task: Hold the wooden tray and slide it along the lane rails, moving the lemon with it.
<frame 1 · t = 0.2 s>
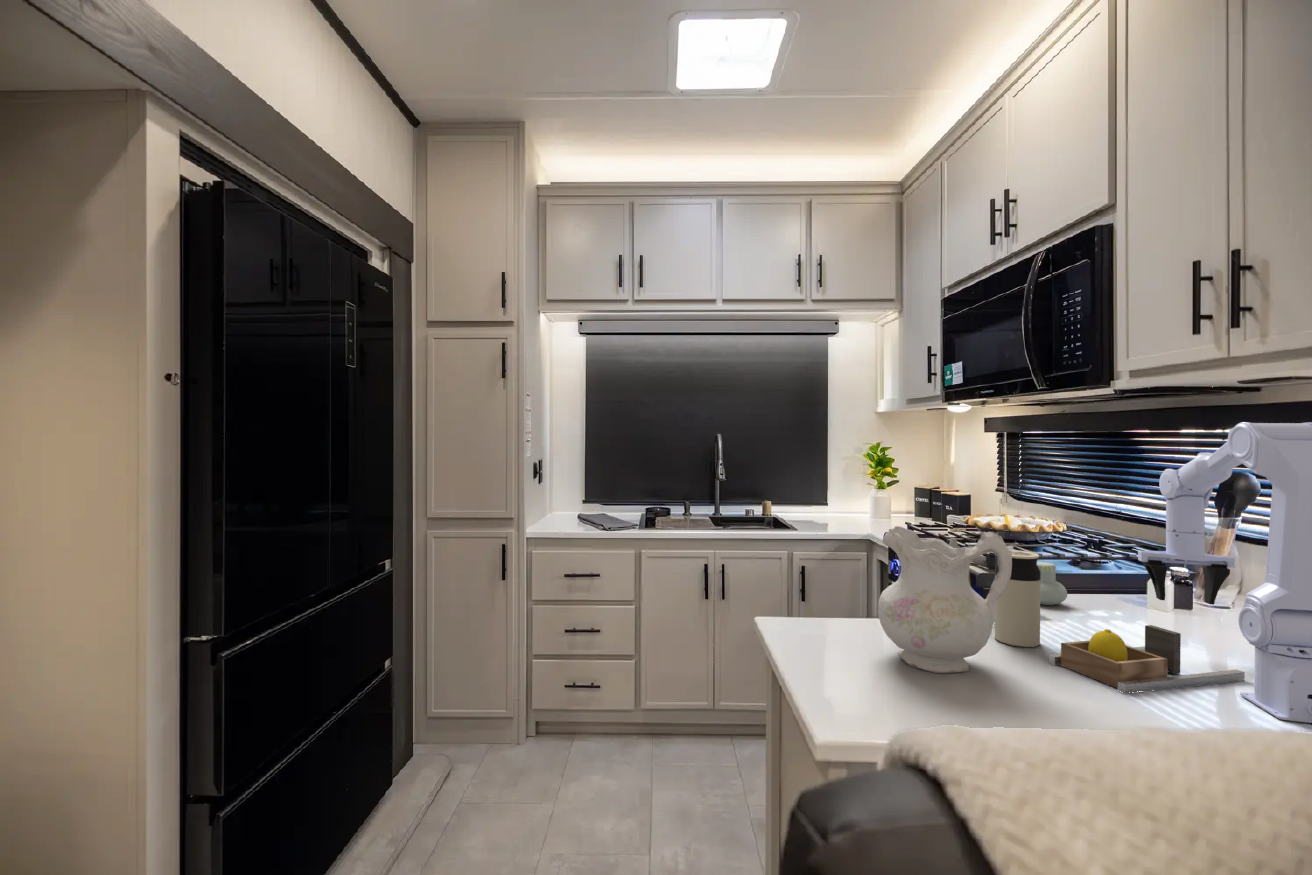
hand: (1184, 601, 120), 10 cm above the counter, fingers open, 7 cm apart
lane rails: (1139, 671, 109), on the counter
air freshener: (1041, 603, 156), on the counter
ceramic pitcher: (940, 663, 112), on the counter
lemon: (1107, 676, 107), resting in wooden tray
wooden tray: (1128, 652, 108), point 4 cm above the counter, slide at 0.0 cm
travel mug: (1016, 642, 125), on the counter
squeeze bottle: (952, 616, 144), on the counter
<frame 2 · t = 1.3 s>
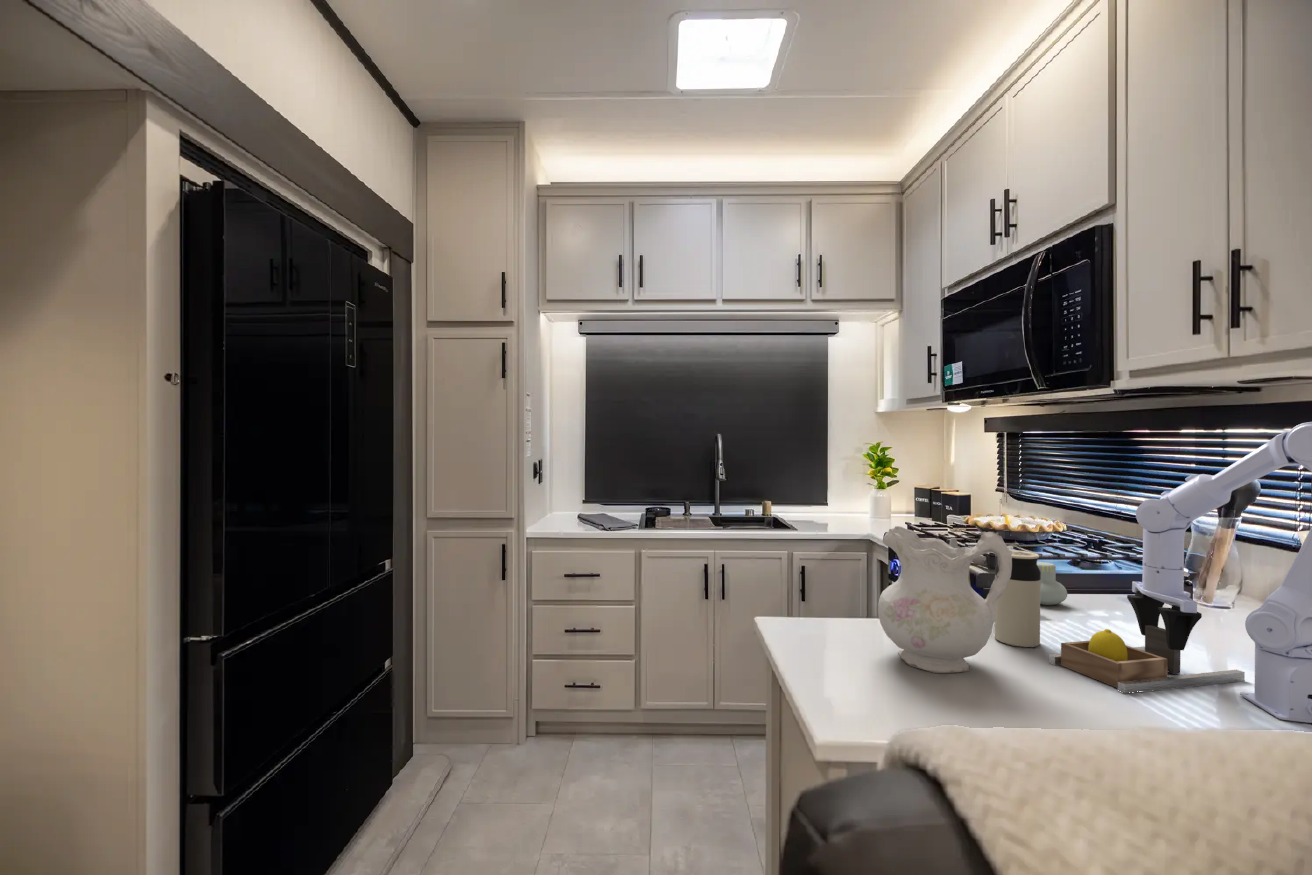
hand: (1161, 642, 110), 5 cm above the counter, fingers open, 7 cm apart
nothing on the counter moved.
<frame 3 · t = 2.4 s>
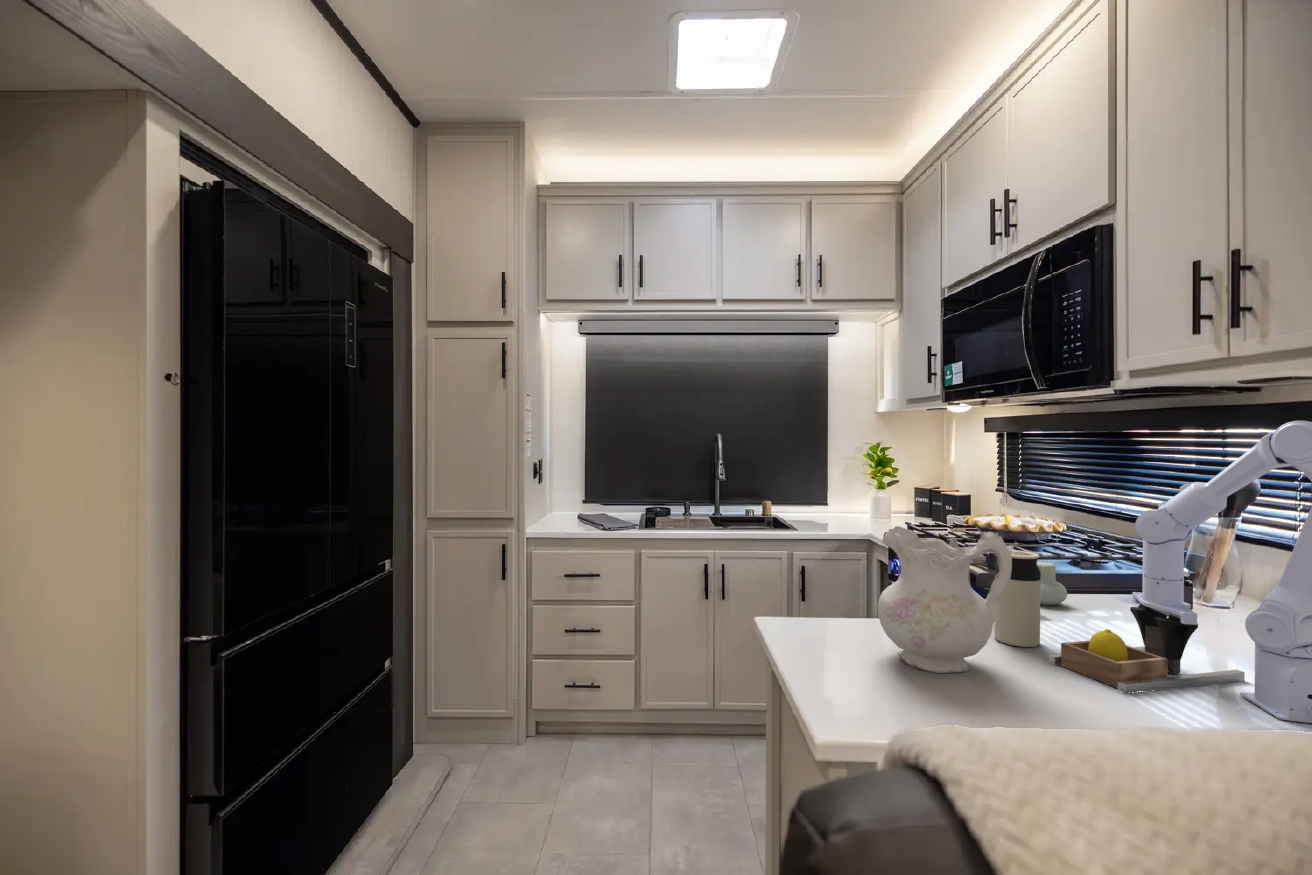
hand: (1162, 653, 110), 3 cm above the counter, fingers closed on wooden tray, 5 cm apart
wooden tray: (1128, 652, 108), point 4 cm above the counter, slide at 0.0 cm, touching gripper
everything else where it was.
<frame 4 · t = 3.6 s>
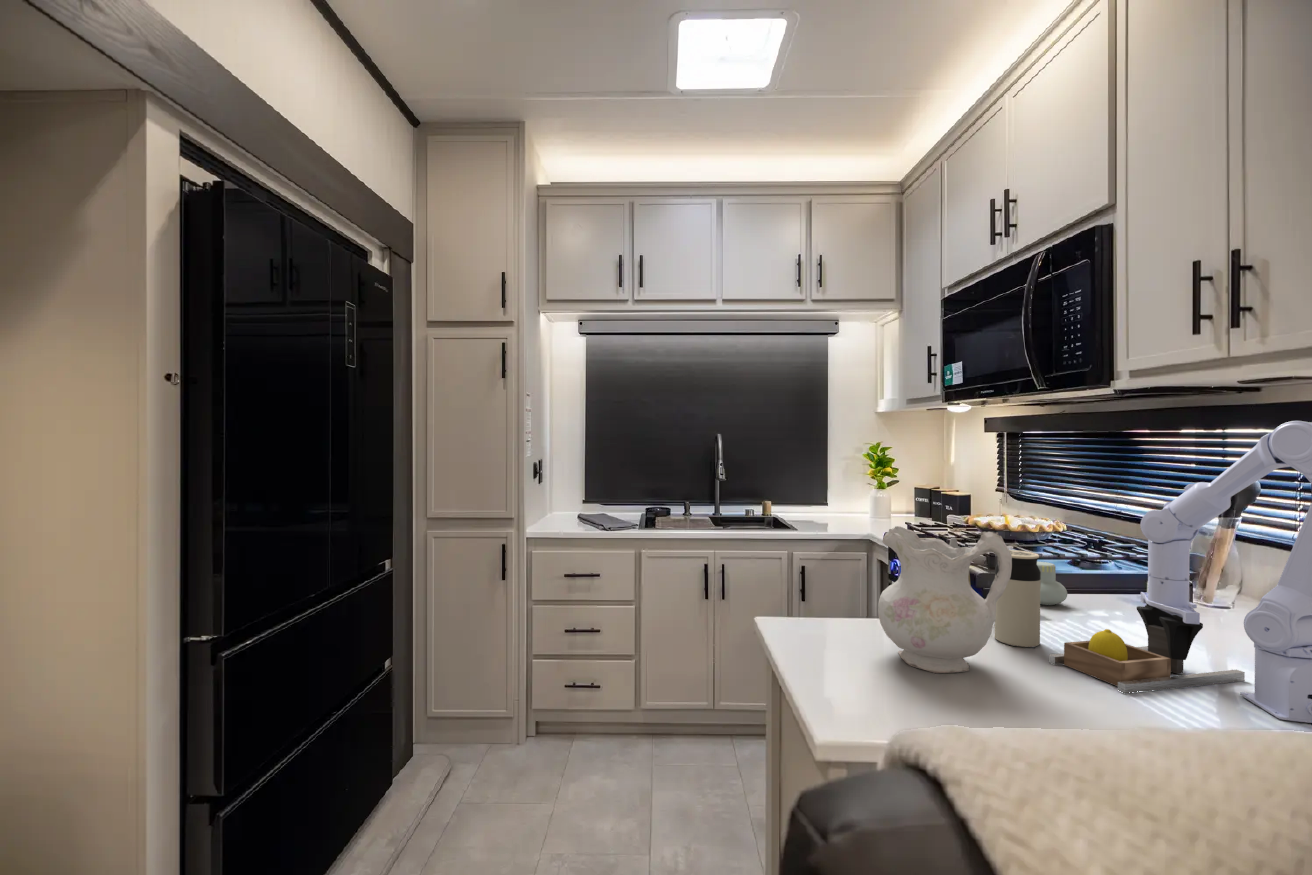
hand: (1167, 653, 110), 3 cm above the counter, fingers open, 6 cm apart
lemon: (1107, 676, 107), resting in wooden tray
wooden tray: (1131, 651, 108), point 4 cm above the counter, slide at 0.7 cm, touching gripper, lemon
everything else where it was.
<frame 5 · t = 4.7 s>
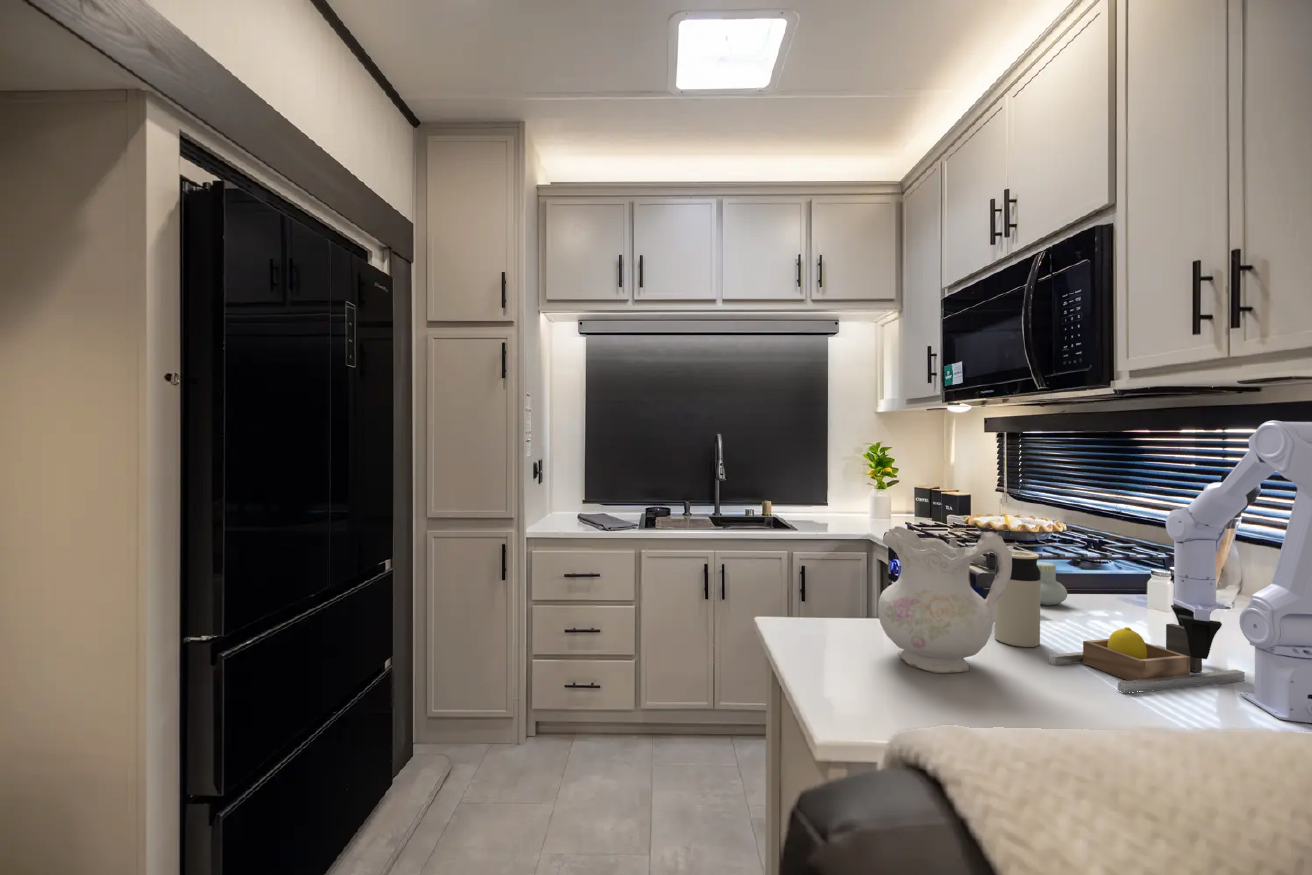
hand: (1194, 651, 112), 3 cm above the counter, fingers open, 7 cm apart
lemon: (1125, 674, 108), resting in wooden tray
wooden tray: (1150, 650, 110), point 4 cm above the counter, slide at 5.0 cm, touching gripper, lemon
everything else where it was.
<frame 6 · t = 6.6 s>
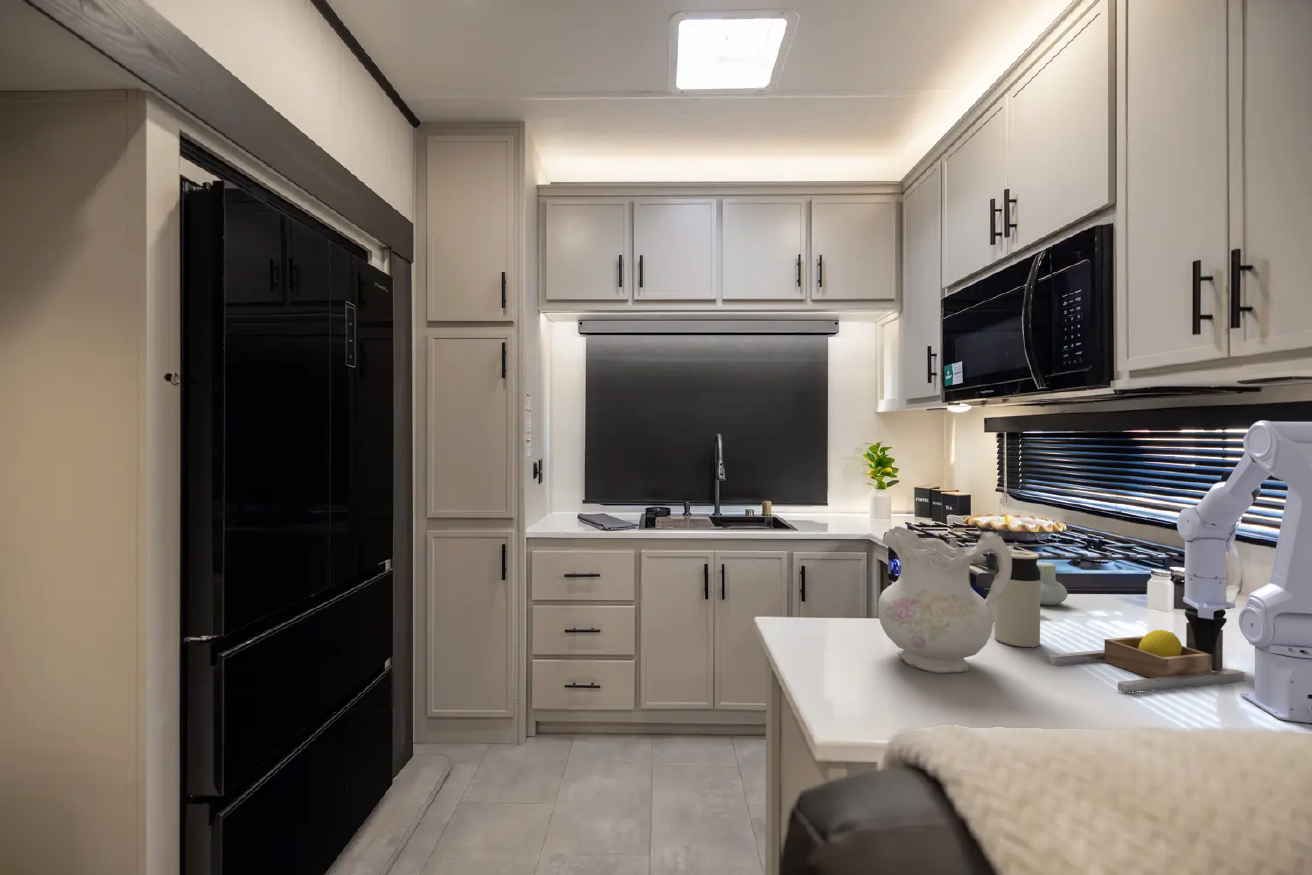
hand: (1205, 650, 112), 3 cm above the counter, fingers closed on wooden tray, 4 cm apart
lemon: (1146, 665, 109), point 1 cm above the counter, touching wooden tray
wooden tray: (1171, 648, 111), point 4 cm above the counter, slide at 9.9 cm, touching gripper, lemon
everything else where it was.
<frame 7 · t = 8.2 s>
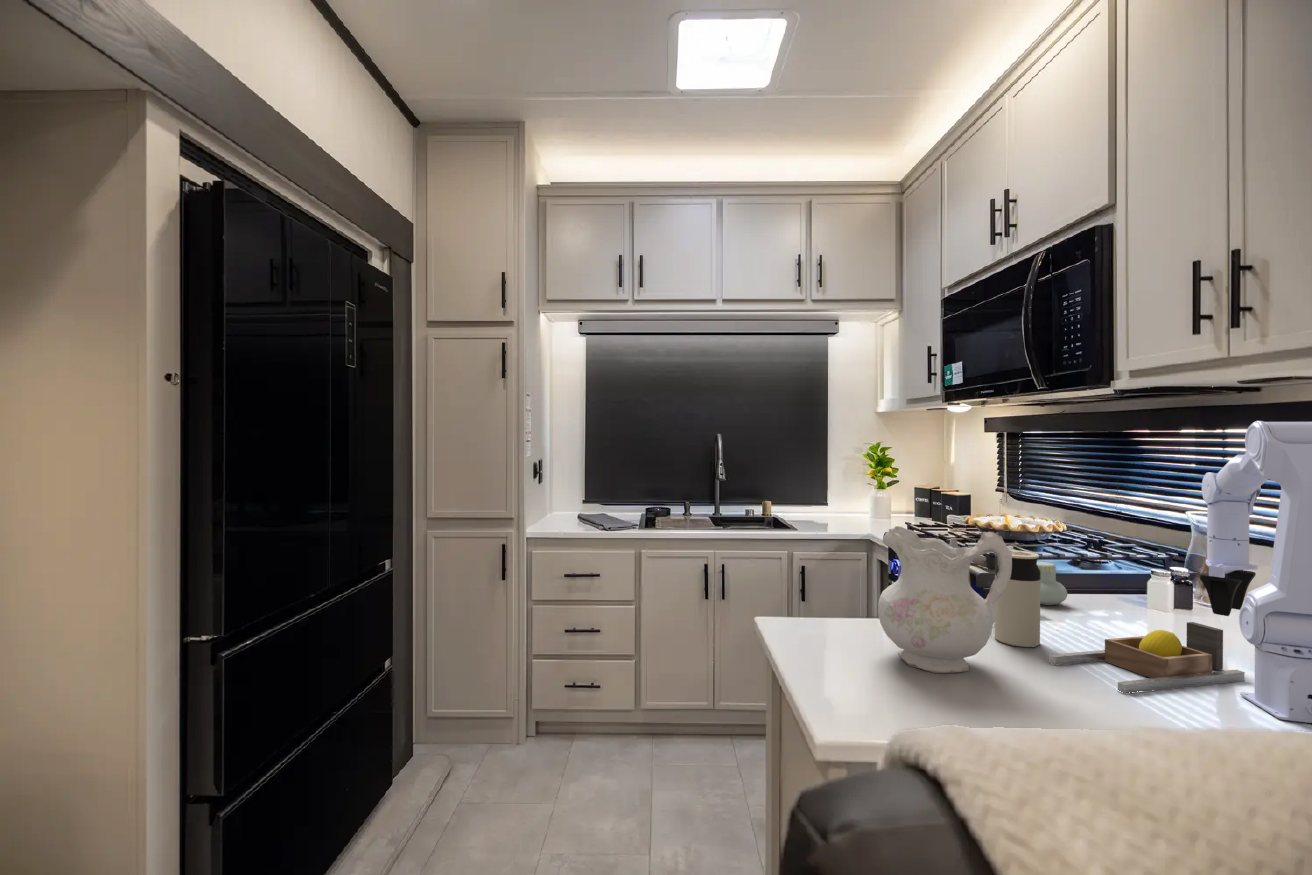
hand: (1227, 611, 114), 9 cm above the counter, fingers open, 7 cm apart
wooden tray: (1172, 648, 111), point 4 cm above the counter, slide at 10.0 cm, touching lemon
everything else where it was.
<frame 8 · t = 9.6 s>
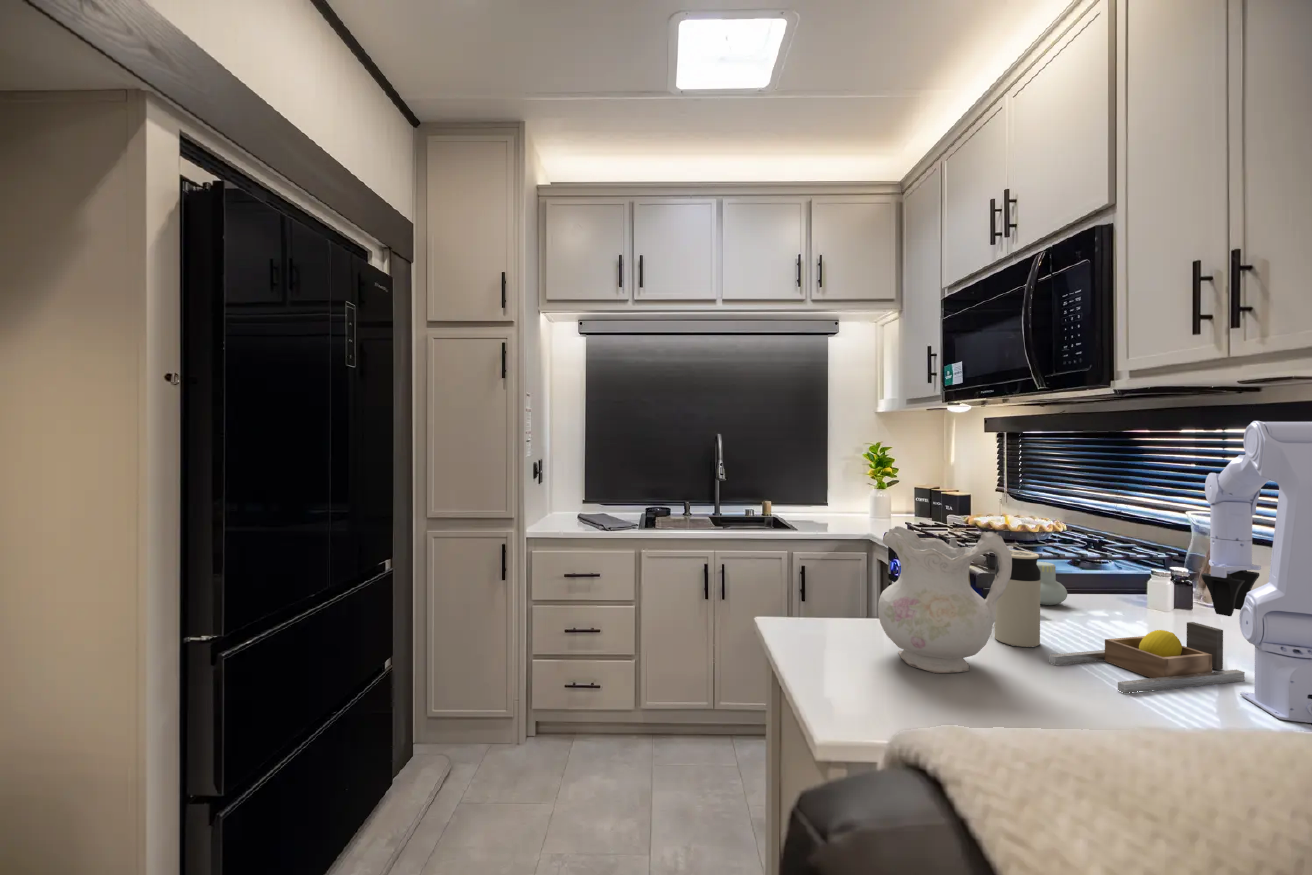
hand: (1230, 611, 114), 9 cm above the counter, fingers open, 7 cm apart
nothing on the counter moved.
at the end: wooden tray slide at 10.0 cm; lemon moved 8.8 cm from its start; lemon inside the target area (0.2 cm from its centre), point 1.0 cm above the counter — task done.
